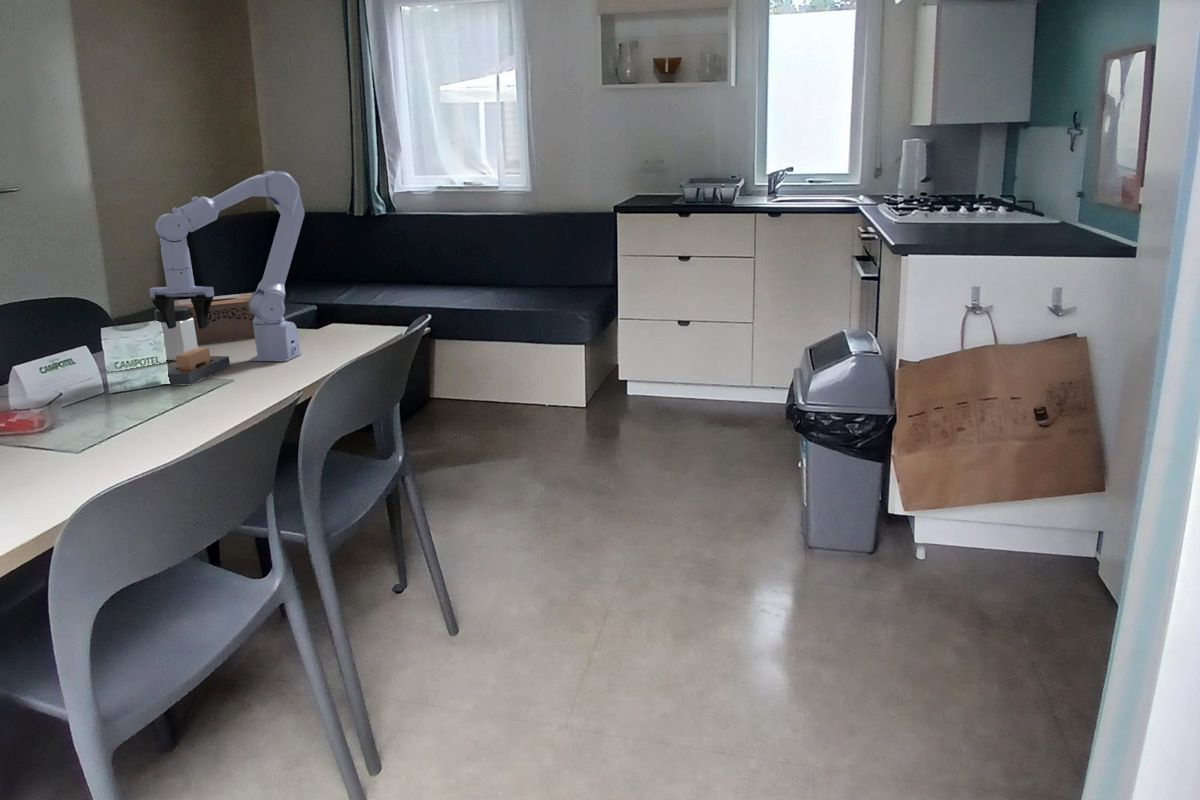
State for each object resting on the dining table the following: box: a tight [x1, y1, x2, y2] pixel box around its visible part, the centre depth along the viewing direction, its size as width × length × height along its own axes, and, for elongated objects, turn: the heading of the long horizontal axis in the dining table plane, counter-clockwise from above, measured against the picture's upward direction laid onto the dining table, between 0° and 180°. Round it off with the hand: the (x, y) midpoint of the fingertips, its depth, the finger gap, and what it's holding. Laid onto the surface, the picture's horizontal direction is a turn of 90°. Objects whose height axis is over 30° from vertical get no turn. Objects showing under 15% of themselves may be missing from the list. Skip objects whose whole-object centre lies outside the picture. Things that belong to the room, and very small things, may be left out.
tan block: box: [175, 347, 211, 370], centre depth 205 cm, size 8×3×6 cm, turn 171°
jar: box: [153, 306, 199, 361], centre depth 223 cm, size 9×8×12 cm
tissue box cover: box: [174, 292, 255, 344], centre depth 247 cm, size 26×14×10 cm, turn 117°
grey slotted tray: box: [167, 355, 231, 385], centre depth 206 cm, size 16×7×2 cm, turn 170°
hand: (187, 327), depth 208 cm, fingers open, 7 cm apart
